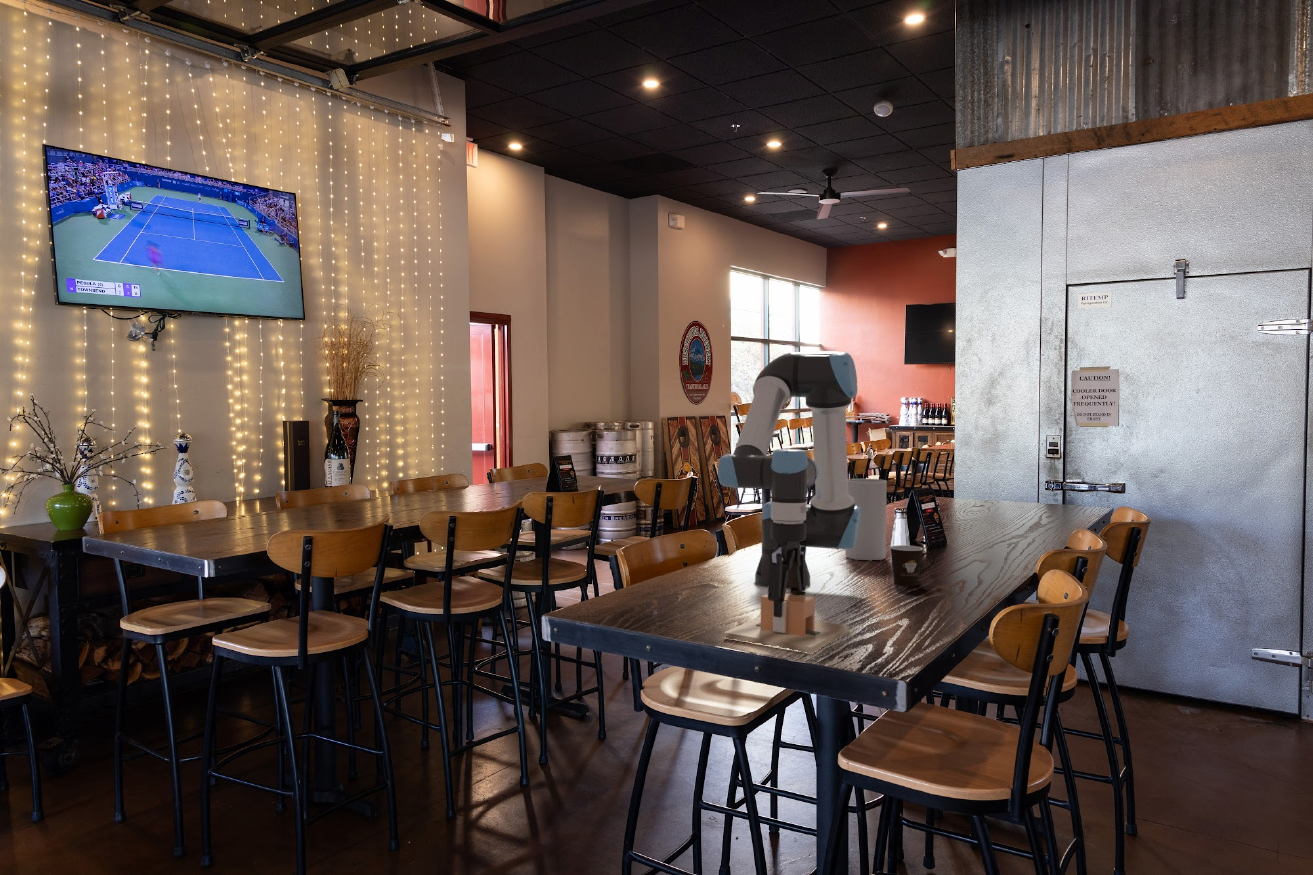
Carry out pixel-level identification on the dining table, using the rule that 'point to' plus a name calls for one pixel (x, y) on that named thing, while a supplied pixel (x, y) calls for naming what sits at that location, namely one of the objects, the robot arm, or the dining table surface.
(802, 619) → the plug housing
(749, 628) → the board
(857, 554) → the cylinder vase
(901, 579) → the coffee mug
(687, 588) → the dining table surface
